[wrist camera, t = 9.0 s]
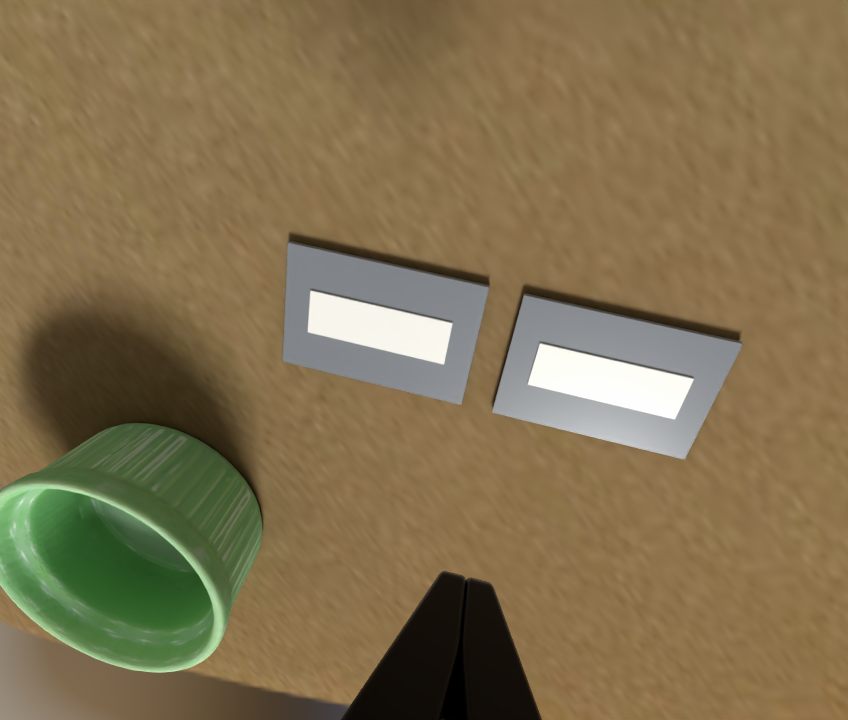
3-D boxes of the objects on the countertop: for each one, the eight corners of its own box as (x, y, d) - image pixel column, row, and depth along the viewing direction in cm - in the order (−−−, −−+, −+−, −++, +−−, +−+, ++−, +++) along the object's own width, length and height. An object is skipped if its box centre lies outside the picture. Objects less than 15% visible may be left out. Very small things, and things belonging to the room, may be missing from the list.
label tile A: (740, 340, 14) (743, 345, 14) (682, 455, 16) (685, 460, 16) (524, 293, 15) (524, 295, 15) (492, 409, 17) (491, 413, 17)
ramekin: (270, 602, 24) (217, 702, 20) (85, 542, 24) (-1, 627, 20) (288, 447, 19) (227, 535, 15) (64, 379, 20) (-50, 447, 16)
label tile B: (489, 285, 15) (488, 288, 15) (461, 401, 17) (460, 406, 17) (290, 240, 16) (287, 242, 15) (285, 358, 17) (281, 362, 17)
